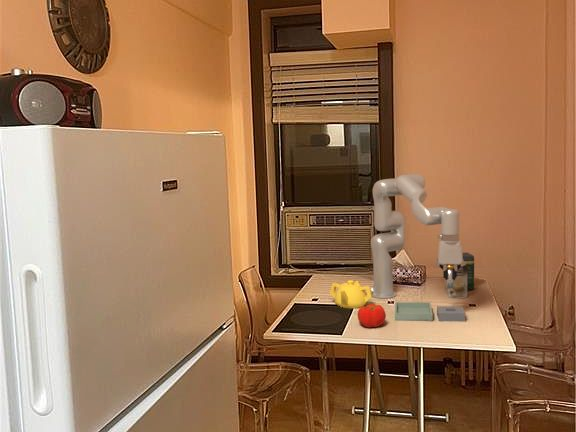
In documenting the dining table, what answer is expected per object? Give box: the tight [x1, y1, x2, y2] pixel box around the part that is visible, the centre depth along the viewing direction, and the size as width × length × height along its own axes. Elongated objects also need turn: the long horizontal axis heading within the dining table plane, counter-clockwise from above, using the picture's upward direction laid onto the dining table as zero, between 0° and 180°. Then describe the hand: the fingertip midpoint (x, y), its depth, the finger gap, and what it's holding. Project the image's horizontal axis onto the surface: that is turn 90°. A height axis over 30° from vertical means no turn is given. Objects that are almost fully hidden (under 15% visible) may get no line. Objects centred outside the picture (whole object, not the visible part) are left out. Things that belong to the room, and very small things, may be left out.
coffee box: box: [446, 264, 468, 299], centre depth 299 cm, size 9×6×16 cm
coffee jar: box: [462, 252, 475, 291], centre depth 314 cm, size 10×8×19 cm
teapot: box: [329, 279, 373, 309], centre depth 292 cm, size 17×17×12 cm
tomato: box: [357, 303, 387, 328], centre depth 258 cm, size 13×12×8 cm
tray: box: [394, 301, 434, 322], centre depth 272 cm, size 16×19×3 cm
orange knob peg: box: [446, 265, 454, 289], centre depth 263 cm, size 4×4×10 cm
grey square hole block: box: [436, 305, 466, 322], centre depth 265 cm, size 11×11×4 cm
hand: (449, 279), depth 264 cm, fingers closed on orange knob peg, 2 cm apart
